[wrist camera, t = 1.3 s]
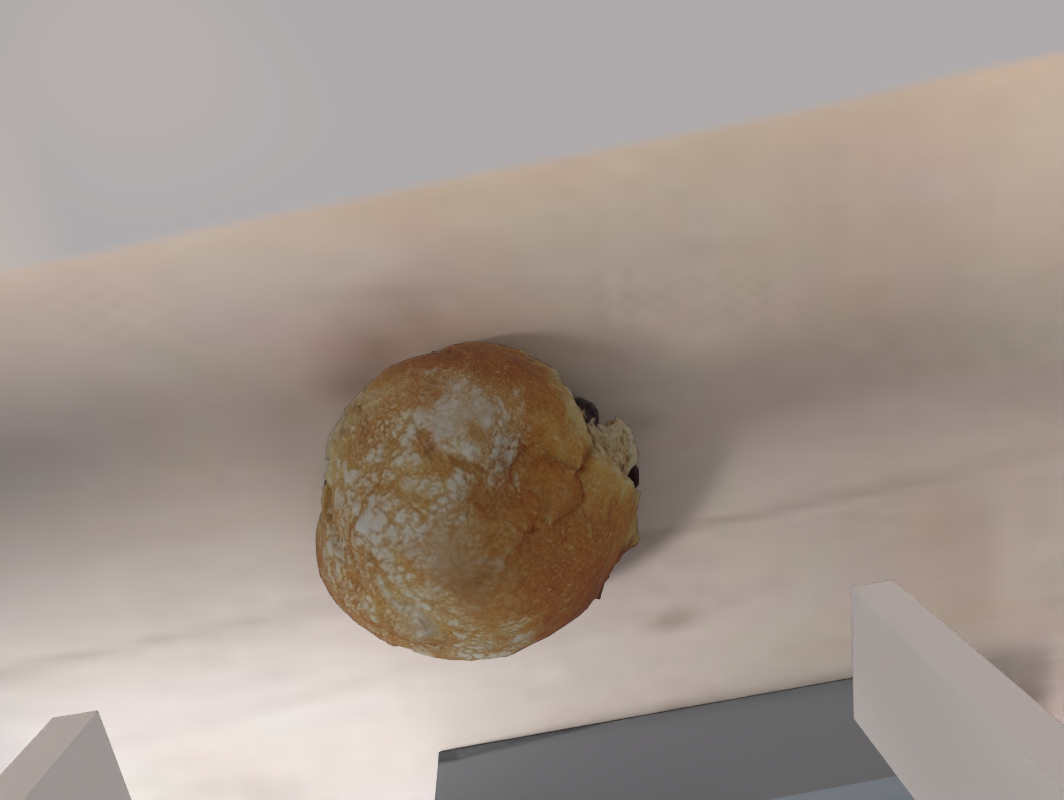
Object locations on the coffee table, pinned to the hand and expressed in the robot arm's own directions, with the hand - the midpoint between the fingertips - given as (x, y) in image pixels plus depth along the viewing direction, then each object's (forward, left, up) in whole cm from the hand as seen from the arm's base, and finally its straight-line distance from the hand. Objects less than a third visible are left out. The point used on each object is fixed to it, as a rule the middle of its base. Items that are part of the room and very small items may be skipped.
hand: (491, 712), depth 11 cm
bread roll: (0, 0, -12) cm, 12 cm away
